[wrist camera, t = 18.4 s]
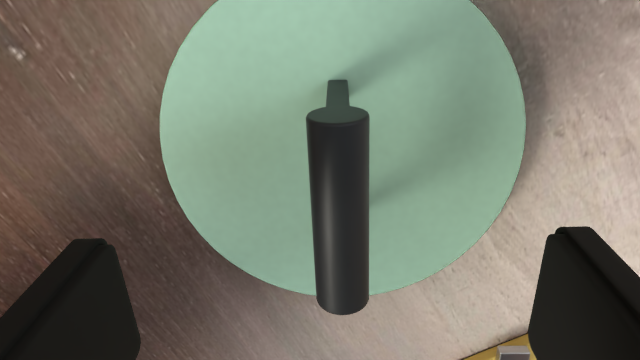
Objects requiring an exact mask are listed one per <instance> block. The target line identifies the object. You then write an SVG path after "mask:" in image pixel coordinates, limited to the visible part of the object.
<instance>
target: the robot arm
mask: <svg viewBox="0 0 640 360" xmlns="http://www.w3.org/2000/svg"><path fill="white" fill-rule="evenodd" d="M528 339H529V344H530V347H531V349H532V351H533V353H534V355H535V357H536V359H537V360H640V277H639V276H638V275H637V274H636V273H635V272H634V271H633V270H632V269H631V268H630V267H629V266H628V265H627V264H626V263H625V262H624V261H623V260H622V259H621V258H620V257H619V256H618V255H617V254H616V253H615V252H614V250H613V249H612V248H611V247H610V246H609V245H608V244H607V243H606V242H605V241H604V240H603V239H602V238H601V237H600V236H599V235H598V234H597V233H596V232H595V231H594V230H593V229H592V228H590V227H560V228H558V229H557V230H556V231H555V234H550V235H549V236H548V237H547V240H546V244H545V249H544V254H543V259H542V264H541V269H540V274H539V279H538V284H537V289H536V294H535V299H534V304H533V309H532V314H531V319H530V324H529V329H528ZM140 343H141V342H140V334H139V331H138V327H137V324H136V320H135V317H134V313H133V310H132V306H131V303H130V299H129V295H128V292H127V288H126V285H125V281H124V278H123V274H122V271H121V267H120V264H119V260H118V257H117V253H116V250H115V248H114V247H113V246H112V245H108V244H107V242H106V241H105V240H104V239H102V238H98V239H75V240H73V241H72V242H71V243H70V244H69V245H68V246H67V247H66V248H65V249H64V250H63V251H62V252H61V253H60V255H59V256H58V257H57V258H56V259H55V260H54V261H53V262H52V263H51V264H50V265H49V266H48V267H47V268H46V270H45V271H44V272H43V273H42V274H41V275H40V276H39V277H38V278H37V279H36V280H35V281H34V282H33V283H32V285H31V286H30V287H29V288H28V289H27V290H26V291H25V292H24V293H23V294H22V295H21V296H20V297H19V298H18V300H17V301H16V302H15V303H14V304H13V305H12V306H11V307H10V308H9V309H8V310H7V311H6V312H5V313H4V315H3V316H2V317H1V318H0V360H135V359H136V357H137V355H138V353H139V349H140Z"/></svg>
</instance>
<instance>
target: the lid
mask: <svg viewBox="0 0 640 360" xmlns="http://www.w3.org/2000/svg"><path fill="white" fill-rule="evenodd" d="M525 131H526V119H525V102H524V98H523V93H522V88H521V83H520V79H519V76H518V73H517V71H516V68H515V65H514V62H513V60H512V57H511V55H510V53H509V51H508V49H507V48H506V46H505V44H504V42H503V40H502V38H501V37H500V35H499V33H498V32H497V31H496V29H495V28H494V27H493V26H492V24H491V23H490V22H489V20H488V19H487V18H486V16H485V15H484V14H483V13H482V12H481V11H480V10H479V9H478V8H477V7H476V6H475V5H474V4H473V3H472V2H471V1H470V0H217V1H216V2H215V3H214V4H213V5H212V6H210V8H209V9H208V10H207V11H206V12H205V13H204V14H203V16H202V17H201V18H200V19H199V20H198V21H197V22H196V24H195V25H194V26H193V27H192V29H191V30H190V32H189V34H188V35H187V37H186V38H185V40H184V41H183V43H182V44H181V46H180V48H179V50H178V52H177V54H176V56H175V59H174V61H173V63H172V65H171V67H170V70H169V73H168V77H167V80H166V83H165V87H164V90H163V96H162V103H161V110H160V142H161V150H162V157H163V162H164V165H165V169H166V173H167V176H168V180H169V182H170V185H171V187H172V189H173V192H174V194H175V196H176V199H177V201H178V203H179V204H180V206H181V208H182V209H183V211H184V213H185V215H186V216H187V218H188V219H189V221H190V222H191V223H192V225H193V226H194V227H195V228H196V230H197V231H198V232H199V234H200V235H201V236H202V237H203V238H204V239H205V240H206V241H207V242H208V243H209V244H210V245H211V246H212V247H213V248H214V249H215V250H216V251H217V252H218V253H220V254H221V255H222V256H223V257H225V258H226V259H227V260H228V261H230V262H231V263H232V264H234V265H236V266H237V267H239V268H240V269H242V270H243V271H245V272H246V273H248V274H250V275H252V276H254V277H256V278H258V279H260V280H262V281H264V282H267V283H269V284H272V285H275V286H278V287H280V288H283V289H286V290H290V291H294V292H298V293H302V294H308V295H315V296H316V299H317V302H318V304H319V305H320V306H321V307H322V308H323V309H324V310H325V311H327V312H329V313H332V314H337V315H348V314H353V313H356V312H358V311H360V310H361V309H363V308H364V307H365V306H366V304H367V302H368V300H369V295H375V294H380V293H385V292H389V291H393V290H396V289H400V288H403V287H406V286H408V285H411V284H413V283H416V282H418V281H421V280H423V279H425V278H427V277H429V276H431V275H433V274H435V273H436V272H438V271H440V270H442V269H443V268H445V267H446V266H448V265H449V264H451V263H452V262H454V261H455V260H457V259H458V258H459V257H460V256H461V255H463V254H464V253H465V252H466V251H467V250H468V249H470V248H471V247H472V246H473V245H474V244H475V243H476V242H477V241H478V240H479V239H480V238H481V236H482V235H483V234H484V233H485V232H486V231H487V230H488V229H489V227H490V226H491V224H492V223H493V222H494V220H495V219H496V217H497V216H498V215H499V213H500V212H501V210H502V208H503V206H504V204H505V203H506V201H507V199H508V197H509V195H510V193H511V191H512V188H513V186H514V183H515V180H516V178H517V175H518V173H519V169H520V164H521V160H522V156H523V151H524V143H525Z"/></svg>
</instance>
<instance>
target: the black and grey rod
mask: <svg viewBox="0 0 640 360" xmlns="http://www.w3.org/2000/svg"><path fill="white" fill-rule="evenodd" d="M529 358H530V351H529V349H528V347H527V346H497V352H496V358H495V360H529Z"/></svg>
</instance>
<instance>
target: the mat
mask: <svg viewBox="0 0 640 360" xmlns="http://www.w3.org/2000/svg"><path fill="white" fill-rule="evenodd" d="M498 346H527V347H528V349H529V351H530V358H529V360H537V359H536V357H535V355H534V353H533V351H532V349H531V347H530V344H529V339H528V334H526V335H523V336H521V337H518V338H516V339H513V340H511V341H508V342H506V343H503V344H501V345H498ZM496 352H497V346H496V347H493V348H491V349H488V350H486V351H483V352H481V353H478V354H476V355H473V356H471V357H468V358H466V359H463V360H495V358H496Z"/></svg>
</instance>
